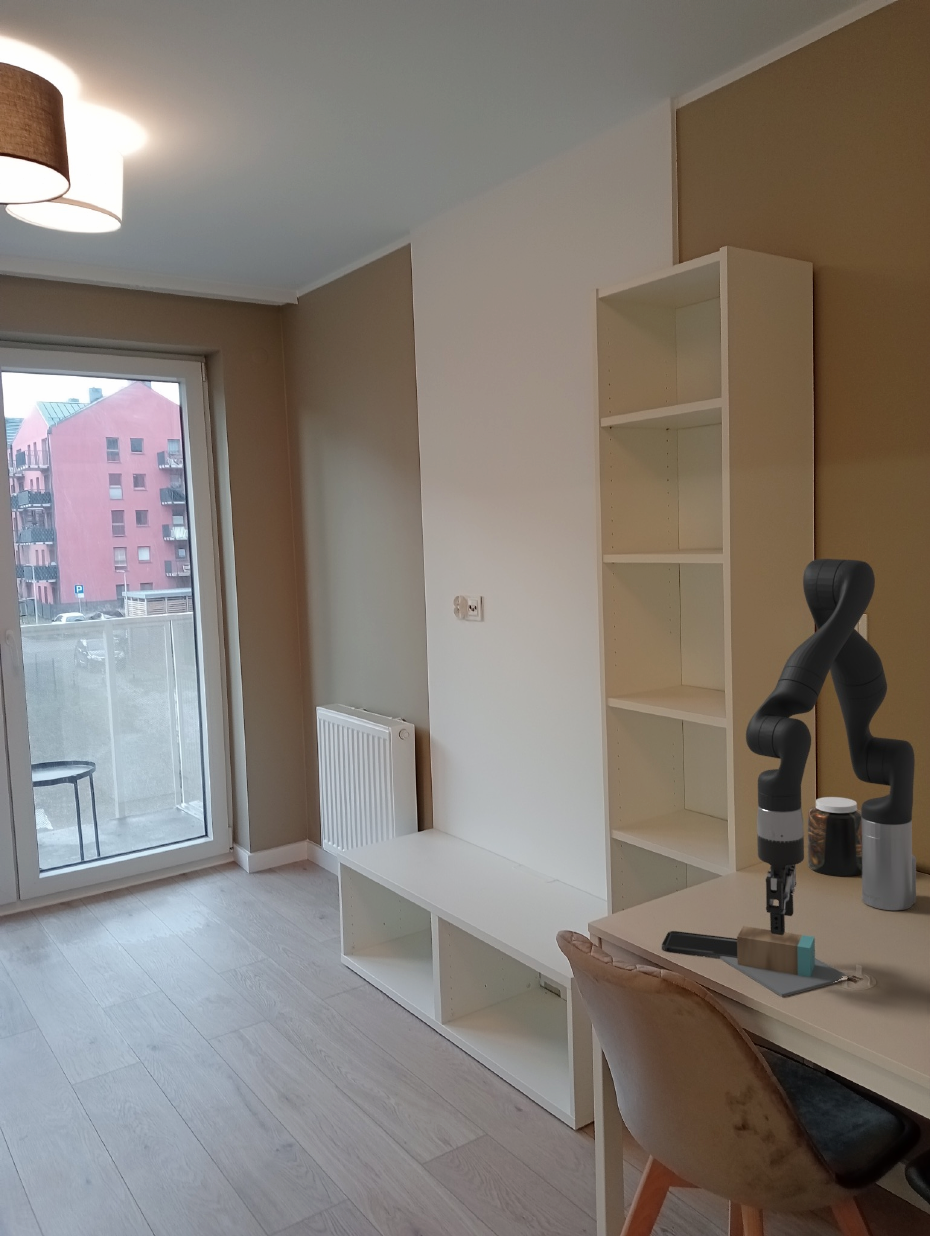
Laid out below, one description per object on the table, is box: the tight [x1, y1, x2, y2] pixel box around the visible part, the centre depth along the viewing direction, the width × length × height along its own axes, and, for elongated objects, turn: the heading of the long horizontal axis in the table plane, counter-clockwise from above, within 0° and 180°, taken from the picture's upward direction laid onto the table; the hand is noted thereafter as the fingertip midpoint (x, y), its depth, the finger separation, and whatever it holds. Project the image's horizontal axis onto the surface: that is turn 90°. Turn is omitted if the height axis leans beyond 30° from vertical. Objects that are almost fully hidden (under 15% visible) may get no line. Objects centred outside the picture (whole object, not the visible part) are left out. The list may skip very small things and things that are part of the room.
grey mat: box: [720, 956, 850, 998], centre depth 165 cm, size 14×16×1 cm
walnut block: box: [736, 925, 816, 977], centre depth 165 cm, size 5×5×12 cm
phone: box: [661, 930, 737, 960], centre depth 174 cm, size 8×1×15 cm
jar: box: [807, 796, 862, 877], centre depth 212 cm, size 12×12×15 cm
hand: (782, 924), depth 164 cm, fingers open, 8 cm apart
